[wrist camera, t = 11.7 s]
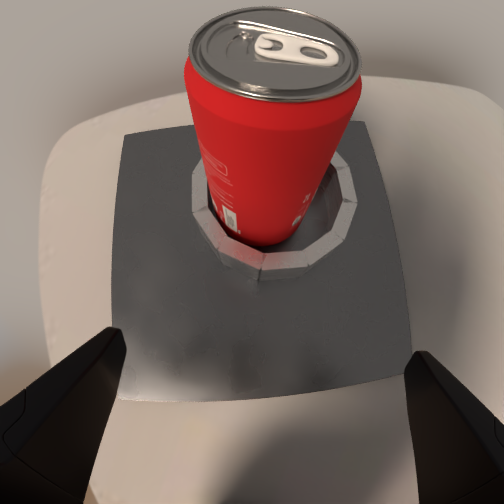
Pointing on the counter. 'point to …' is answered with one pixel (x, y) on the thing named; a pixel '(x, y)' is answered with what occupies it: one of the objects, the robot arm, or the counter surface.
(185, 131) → the plate
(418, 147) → the counter surface
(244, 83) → the beverage can
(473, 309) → the counter surface
